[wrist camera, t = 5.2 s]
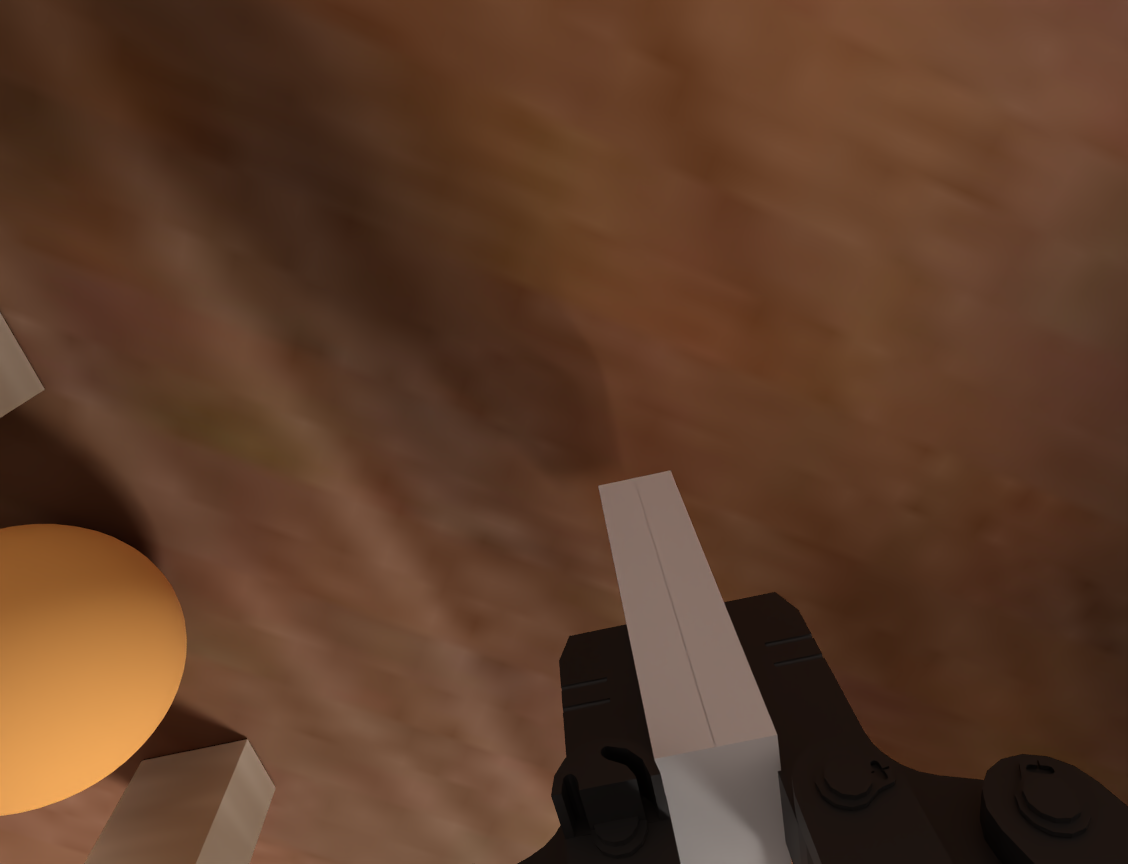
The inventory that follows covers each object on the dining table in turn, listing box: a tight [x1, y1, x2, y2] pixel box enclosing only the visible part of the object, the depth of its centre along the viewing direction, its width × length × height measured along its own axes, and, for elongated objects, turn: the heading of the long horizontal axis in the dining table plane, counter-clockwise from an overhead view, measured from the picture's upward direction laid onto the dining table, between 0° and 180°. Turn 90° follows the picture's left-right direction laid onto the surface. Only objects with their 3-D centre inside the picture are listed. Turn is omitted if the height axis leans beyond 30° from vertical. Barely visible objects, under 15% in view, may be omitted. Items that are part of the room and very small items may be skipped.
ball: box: [0, 524, 187, 816], centre depth 14 cm, size 6×6×6 cm
